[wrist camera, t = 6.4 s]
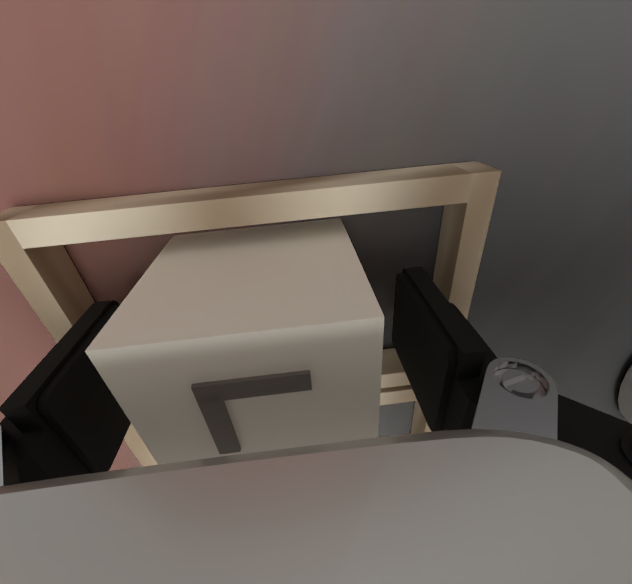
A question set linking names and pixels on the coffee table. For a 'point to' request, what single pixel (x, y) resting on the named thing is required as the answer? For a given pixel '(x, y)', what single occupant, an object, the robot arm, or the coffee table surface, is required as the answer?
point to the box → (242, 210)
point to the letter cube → (247, 343)
